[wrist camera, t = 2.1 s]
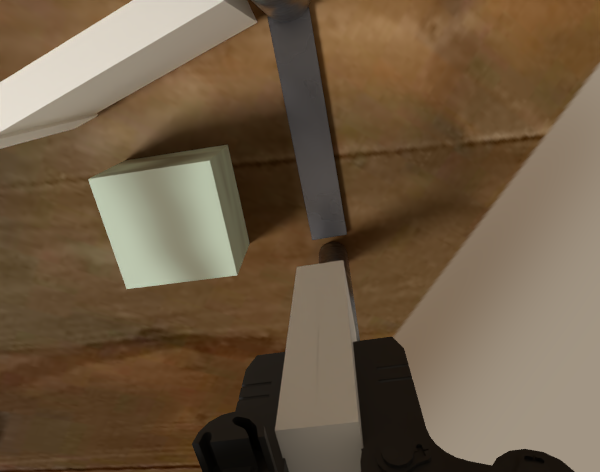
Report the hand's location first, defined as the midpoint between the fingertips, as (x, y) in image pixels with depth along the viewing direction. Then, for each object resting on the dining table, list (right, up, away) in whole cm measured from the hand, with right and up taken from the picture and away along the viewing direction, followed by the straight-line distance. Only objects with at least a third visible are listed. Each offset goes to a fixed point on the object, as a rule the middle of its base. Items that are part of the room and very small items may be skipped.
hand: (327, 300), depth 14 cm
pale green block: (-8, +4, +15) cm, 18 cm away
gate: (-9, +12, +11) cm, 19 cm away
